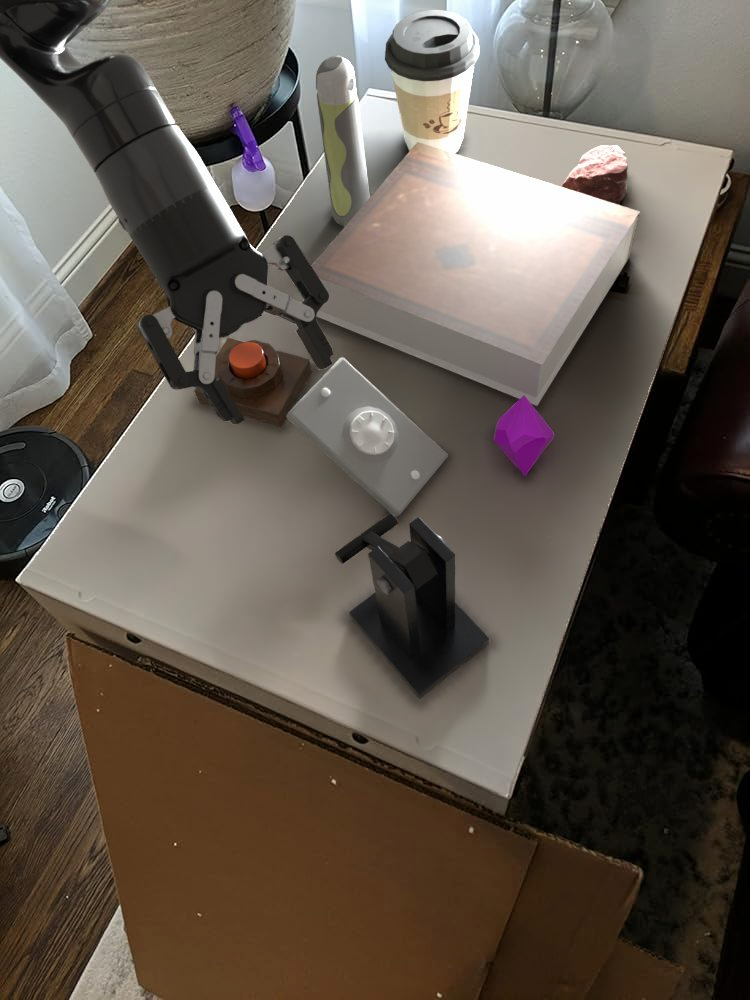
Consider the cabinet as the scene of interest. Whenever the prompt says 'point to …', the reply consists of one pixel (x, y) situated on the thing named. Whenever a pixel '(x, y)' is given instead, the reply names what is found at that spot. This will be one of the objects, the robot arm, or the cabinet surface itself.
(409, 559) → the lever
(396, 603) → the bracket
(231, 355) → the button
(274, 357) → the control block
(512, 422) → the crystal
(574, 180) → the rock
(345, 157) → the grey and green cylinder
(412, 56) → the coffee cup
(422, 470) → the light switch
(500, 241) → the book
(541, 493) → the cabinet surface
